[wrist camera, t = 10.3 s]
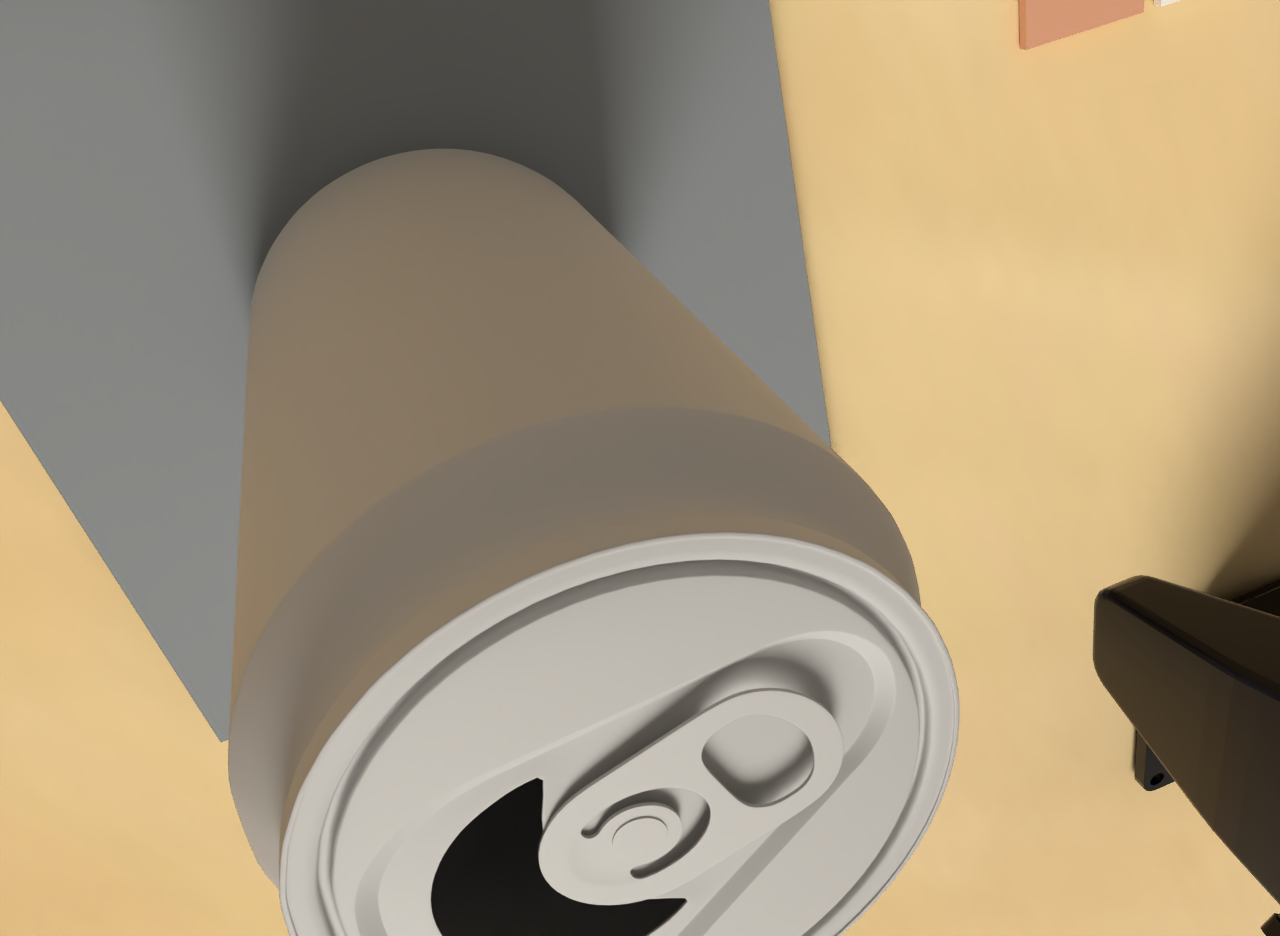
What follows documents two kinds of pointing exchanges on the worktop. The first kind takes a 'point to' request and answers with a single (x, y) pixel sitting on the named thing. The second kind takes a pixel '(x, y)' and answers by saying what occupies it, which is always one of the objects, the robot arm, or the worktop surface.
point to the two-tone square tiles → (1071, 17)
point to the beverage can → (554, 593)
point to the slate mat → (294, 172)
